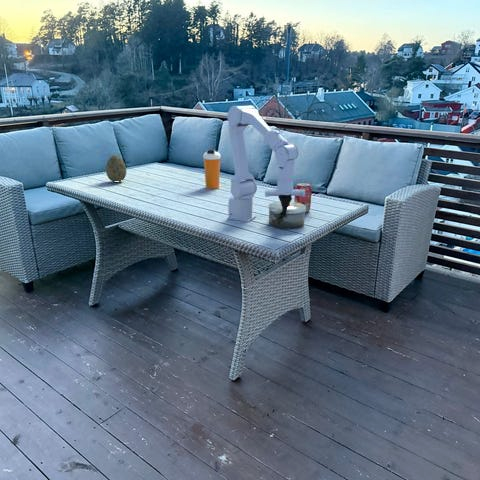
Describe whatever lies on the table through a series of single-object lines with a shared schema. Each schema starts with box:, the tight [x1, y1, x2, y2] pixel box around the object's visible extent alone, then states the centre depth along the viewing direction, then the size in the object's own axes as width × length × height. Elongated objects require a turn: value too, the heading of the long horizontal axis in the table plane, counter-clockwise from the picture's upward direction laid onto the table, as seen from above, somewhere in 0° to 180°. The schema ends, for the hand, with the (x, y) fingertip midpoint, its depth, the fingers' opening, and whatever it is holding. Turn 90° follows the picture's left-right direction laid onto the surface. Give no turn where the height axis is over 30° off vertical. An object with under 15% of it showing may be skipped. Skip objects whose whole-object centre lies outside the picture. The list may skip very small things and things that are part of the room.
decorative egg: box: [105, 154, 127, 182], centre depth 226 cm, size 11×11×15 cm
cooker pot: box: [268, 209, 306, 230], centre depth 160 cm, size 14×19×6 cm
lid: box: [267, 200, 306, 217], centre depth 159 cm, size 15×19×2 cm
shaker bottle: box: [202, 148, 221, 190], centre depth 215 cm, size 9×9×20 cm
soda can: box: [293, 182, 312, 214], centre depth 177 cm, size 7×7×12 cm
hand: (284, 214), depth 153 cm, fingers closed, pressing on lid
